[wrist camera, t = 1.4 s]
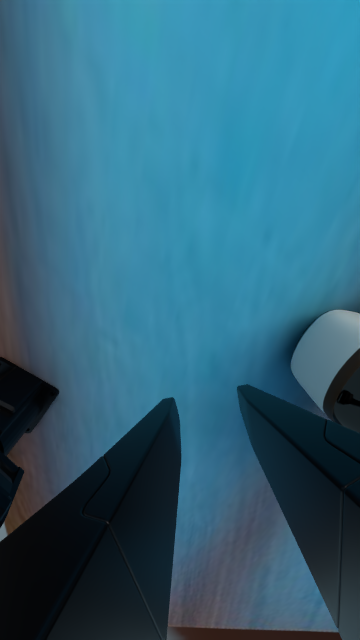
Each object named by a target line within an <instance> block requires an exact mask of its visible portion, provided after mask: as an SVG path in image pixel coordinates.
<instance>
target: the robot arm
mask: <svg viewBox="0 0 360 640" xmlns="http://www.w3.org/2000/svg"><path fill="white" fill-rule="evenodd" d="M0 363H1V364H0V527H1V526H2V524H3V523H4V521H5V518H6V516H7V514H8V511H9V509H10V506H11V504H12V501H13V499H14V496H15V494H16V491H17V489H18V486H19V484H20V481H21V479H22V476H23V474H24V470H23V469H22V468H20V467H17V466H16V465H15V464H14V463H13V462H12V461H11V460H10V459H9V458H8V457H7V454H8V453H9V452H10V451H11V449H12V448H13V447H14V445H15V444H16V443H17V442H18V440H19V439H20V438H21V436H22V435H23V434H24V433H30V432H32V430H33V429H34V427H35V426H36V425H37V423H38V422H39V421H40V419H41V418H42V416H43V415H44V414H45V412H46V411H47V409H48V408H49V407H50V405H51V404H52V402H53V401H54V400H55V398H56V397H57V395H58V394H59V390H58V389H57V388H55V387H53V386H52V385H50V384H48V383H46V382H45V381H43V380H41V379H39V378H38V377H36V376H34V375H32V374H31V373H29V372H27V371H25V370H24V369H22V368H20V367H18V366H17V365H15V364H13V363H11V362H10V361H8V360H6V359H4V358H2V357H0ZM52 392H53V393H54V394H53V393H52ZM237 392H238V399H239V406H240V410H241V414H242V417H243V420H244V423H245V426H246V429H247V433H248V436H249V439H250V442H251V445H252V447H253V449H254V452H255V454H256V456H257V458H258V460H259V463H260V465H261V467H262V469H263V471H264V473H265V475H266V478H267V480H268V482H269V484H270V486H271V488H272V490H273V492H274V495H275V497H276V499H277V501H278V503H279V505H280V507H281V510H282V512H283V514H284V516H285V518H286V520H287V522H288V525H289V527H290V529H291V531H292V533H293V535H294V537H295V539H296V542H297V544H298V546H299V548H300V550H301V552H302V554H303V557H304V559H305V561H306V563H307V565H308V567H309V569H310V572H311V574H312V576H313V578H314V580H315V582H316V584H317V586H318V589H319V591H320V593H321V595H322V597H323V599H324V601H325V604H326V606H327V608H328V610H329V612H330V614H331V616H332V618H333V621H334V623H335V625H336V627H337V628H338V631H339V633H340V635H341V638H342V640H360V433H359V432H356V431H354V430H351V429H349V428H347V427H344V426H342V425H340V424H337V423H335V422H333V421H330V420H327V419H325V418H323V417H320V416H318V415H316V414H314V413H311V412H309V411H307V410H305V409H302V408H300V407H298V406H296V405H293V404H291V403H289V402H287V401H284V400H282V399H280V398H277V397H275V396H273V395H271V394H268V393H266V392H264V391H262V390H259V389H257V388H255V387H253V386H250V385H248V384H246V385H241V386H238V387H237ZM180 469H181V437H180V419H179V414H178V410H177V406H176V402H175V399H174V398H173V397H171V398H165V399H163V400H162V401H161V402H160V403H159V404H158V405H156V406H155V407H154V408H153V409H152V410H151V411H150V412H149V413H148V414H147V415H146V416H145V417H144V418H143V419H142V420H140V421H139V422H138V423H137V424H136V425H135V426H134V427H133V428H132V429H131V430H130V431H129V432H128V433H127V434H126V435H124V436H123V437H122V438H121V439H120V440H119V441H118V442H117V443H116V444H115V445H114V446H113V447H112V448H111V449H110V450H108V451H107V452H106V453H105V454H104V456H102V457H100V458H99V459H98V460H97V461H96V462H95V463H94V464H93V465H92V466H91V467H90V468H88V469H87V470H86V471H85V472H84V473H83V474H82V475H81V476H80V477H78V478H77V479H76V480H75V481H74V482H73V483H71V484H70V485H69V486H68V487H67V488H65V489H64V490H63V491H62V492H61V493H59V494H58V495H57V496H56V497H55V498H53V499H52V500H51V501H50V502H48V503H47V504H46V505H45V506H44V507H42V508H41V509H40V510H39V511H37V512H36V513H35V514H34V515H33V516H31V517H30V518H29V519H28V520H26V521H25V522H24V523H23V524H21V525H20V526H19V527H18V528H17V529H15V530H14V531H13V532H12V533H10V534H9V535H8V536H7V537H6V538H4V539H3V540H2V541H1V542H0V640H166V639H167V627H168V614H169V602H170V590H171V578H172V566H173V554H174V542H175V530H176V518H177V506H178V493H179V481H180Z"/></svg>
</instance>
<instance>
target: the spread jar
mask: <svg viewBox="0 0 360 640" xmlns="http://www.w3.org/2000/svg"><path fill="white" fill-rule="evenodd" d="M291 370H292V373H293V375H294V377H295V378H296V380H297V381H298V382H299V384H300V385H301V386H302V387H303V388H304V390H305V391H306V392H307V393H308V395H309V396H310V397H311V398H312V400H313V401H314V402H315V403H316V404H317V406H318V407H319V408H320V409H321V410H322V411H323V412H324V413H325V414H326V415H327V416H328V418H330V419H331V420H332V421H333V422H335V423H337V424H340V425H342V426H344V427H347V428H349V429H351V430H354V431H356V432H359V433H360V314H359V313H356V312H352V311H346V310H331V311H328V312H325V313H323V314H322V315H320V316H319V317H318V318H317V319H315V320H314V321H313V322H312V323H311V324H310V325H309V327H308V328H307V329H306V330H305V332H304V333H303V334H302V336H301V337H300V339H299V341H298V343H297V345H296V347H295V349H294V352H293V355H292V360H291Z"/></svg>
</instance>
